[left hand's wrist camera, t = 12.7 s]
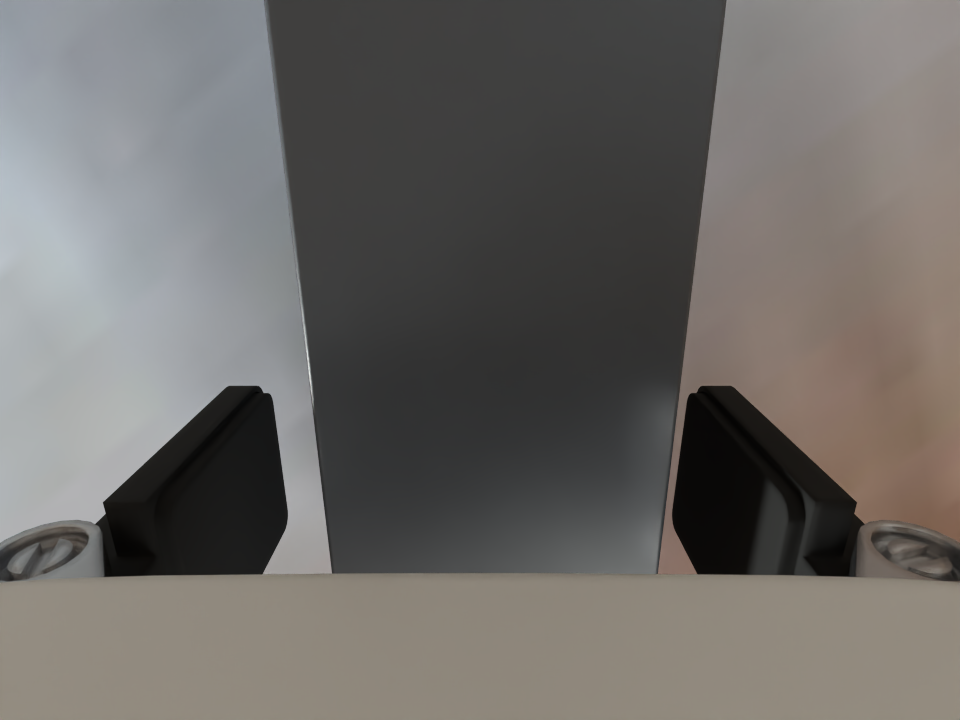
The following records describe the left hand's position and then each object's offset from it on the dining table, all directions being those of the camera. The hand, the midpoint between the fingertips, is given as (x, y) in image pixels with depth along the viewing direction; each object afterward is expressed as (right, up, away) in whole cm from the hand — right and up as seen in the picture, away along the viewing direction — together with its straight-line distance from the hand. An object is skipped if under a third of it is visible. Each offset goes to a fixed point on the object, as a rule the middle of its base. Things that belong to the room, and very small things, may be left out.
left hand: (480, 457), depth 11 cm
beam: (0, +24, -3) cm, 24 cm away
